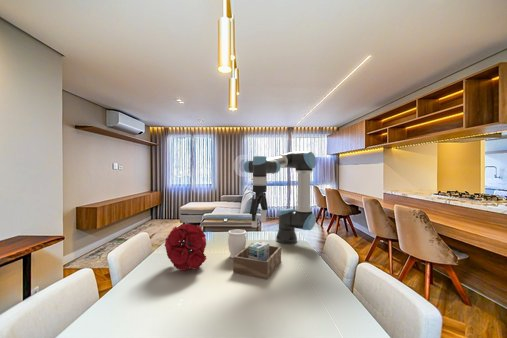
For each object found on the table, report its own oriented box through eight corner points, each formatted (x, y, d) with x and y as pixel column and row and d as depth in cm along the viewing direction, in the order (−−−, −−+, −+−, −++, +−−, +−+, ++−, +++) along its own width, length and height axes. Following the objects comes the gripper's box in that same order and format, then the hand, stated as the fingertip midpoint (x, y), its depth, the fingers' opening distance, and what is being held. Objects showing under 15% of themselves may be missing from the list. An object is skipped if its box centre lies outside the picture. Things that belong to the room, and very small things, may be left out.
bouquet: (170, 271, 133) (153, 264, 107) (180, 230, 145) (166, 214, 119) (208, 274, 133) (200, 268, 107) (214, 233, 145) (208, 218, 119)
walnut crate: (251, 256, 140) (252, 242, 140) (281, 261, 133) (281, 247, 133) (233, 272, 118) (233, 256, 118) (267, 279, 111) (267, 262, 111)
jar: (246, 253, 144) (247, 229, 144) (244, 260, 134) (244, 234, 134) (229, 253, 145) (230, 228, 145) (226, 259, 135) (226, 233, 135)
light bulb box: (258, 269, 119) (258, 248, 119) (247, 266, 123) (248, 245, 123) (269, 262, 128) (269, 243, 128) (259, 259, 132) (259, 240, 132)
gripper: (261, 183, 138) (260, 219, 138) (243, 186, 115) (242, 229, 115) (273, 183, 135) (273, 220, 136) (257, 186, 112) (257, 230, 112)
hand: (259, 224), depth 125 cm, fingers open, 13 cm apart
